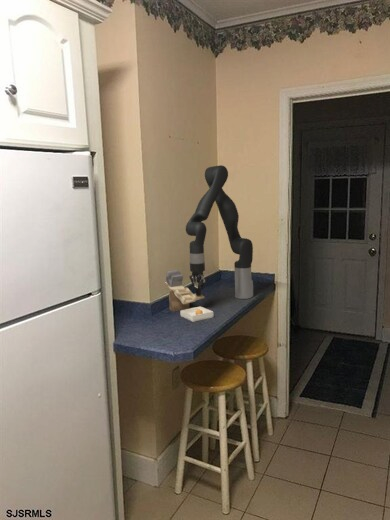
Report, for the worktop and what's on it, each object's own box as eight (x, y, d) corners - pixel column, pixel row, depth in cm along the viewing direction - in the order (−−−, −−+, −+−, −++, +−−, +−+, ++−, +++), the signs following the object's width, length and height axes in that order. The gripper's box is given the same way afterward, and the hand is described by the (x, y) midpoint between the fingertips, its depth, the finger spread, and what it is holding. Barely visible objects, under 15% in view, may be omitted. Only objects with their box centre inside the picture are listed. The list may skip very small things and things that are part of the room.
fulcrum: (169, 309, 222) (168, 290, 220) (185, 306, 227) (184, 287, 225) (173, 311, 218) (172, 291, 217) (189, 308, 223) (188, 288, 222)
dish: (200, 311, 216) (200, 306, 216) (213, 317, 206) (213, 311, 206) (180, 316, 210) (180, 310, 210) (192, 321, 201) (192, 316, 200)
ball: (199, 311, 209) (201, 307, 207) (202, 317, 207) (205, 313, 205) (193, 312, 207) (195, 308, 205) (196, 318, 205) (198, 314, 203)
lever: (164, 282, 226) (166, 271, 222) (186, 279, 232) (188, 268, 229) (183, 304, 211) (185, 292, 208) (205, 299, 218) (207, 288, 215)
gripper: (210, 262, 212) (211, 296, 215) (196, 259, 223) (197, 291, 226) (197, 264, 208) (199, 299, 211) (184, 260, 219) (185, 293, 222)
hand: (198, 295), depth 218 cm, fingers closed
